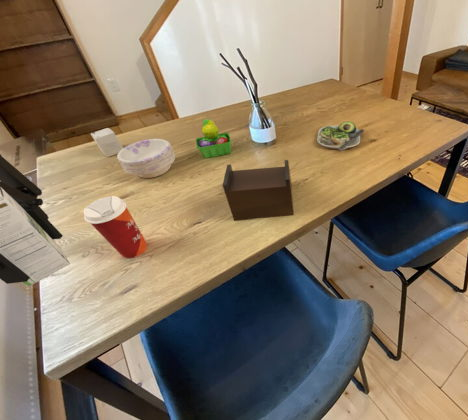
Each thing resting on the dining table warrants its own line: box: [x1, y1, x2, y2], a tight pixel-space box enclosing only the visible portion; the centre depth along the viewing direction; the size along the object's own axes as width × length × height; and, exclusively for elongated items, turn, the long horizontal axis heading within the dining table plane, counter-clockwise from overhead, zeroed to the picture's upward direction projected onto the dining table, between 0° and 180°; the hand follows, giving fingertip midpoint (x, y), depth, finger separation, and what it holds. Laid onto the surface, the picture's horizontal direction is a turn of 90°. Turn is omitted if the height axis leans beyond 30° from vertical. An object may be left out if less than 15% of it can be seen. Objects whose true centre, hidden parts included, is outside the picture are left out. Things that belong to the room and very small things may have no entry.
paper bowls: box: [116, 138, 176, 179], centre depth 89 cm, size 15×15×8 cm
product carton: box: [90, 127, 124, 158], centre depth 98 cm, size 6×6×7 cm
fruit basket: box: [195, 118, 232, 159], centre depth 96 cm, size 11×9×11 cm
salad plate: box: [316, 121, 365, 152], centre depth 104 cm, size 19×18×5 cm
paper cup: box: [83, 195, 148, 259], centre depth 62 cm, size 8×8×14 cm
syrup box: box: [0, 187, 71, 287], centre depth 41 cm, size 6×6×14 cm
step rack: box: [222, 159, 295, 222], centre depth 76 cm, size 15×16×12 cm
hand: (37, 257), depth 44 cm, fingers closed on syrup box, 8 cm apart
